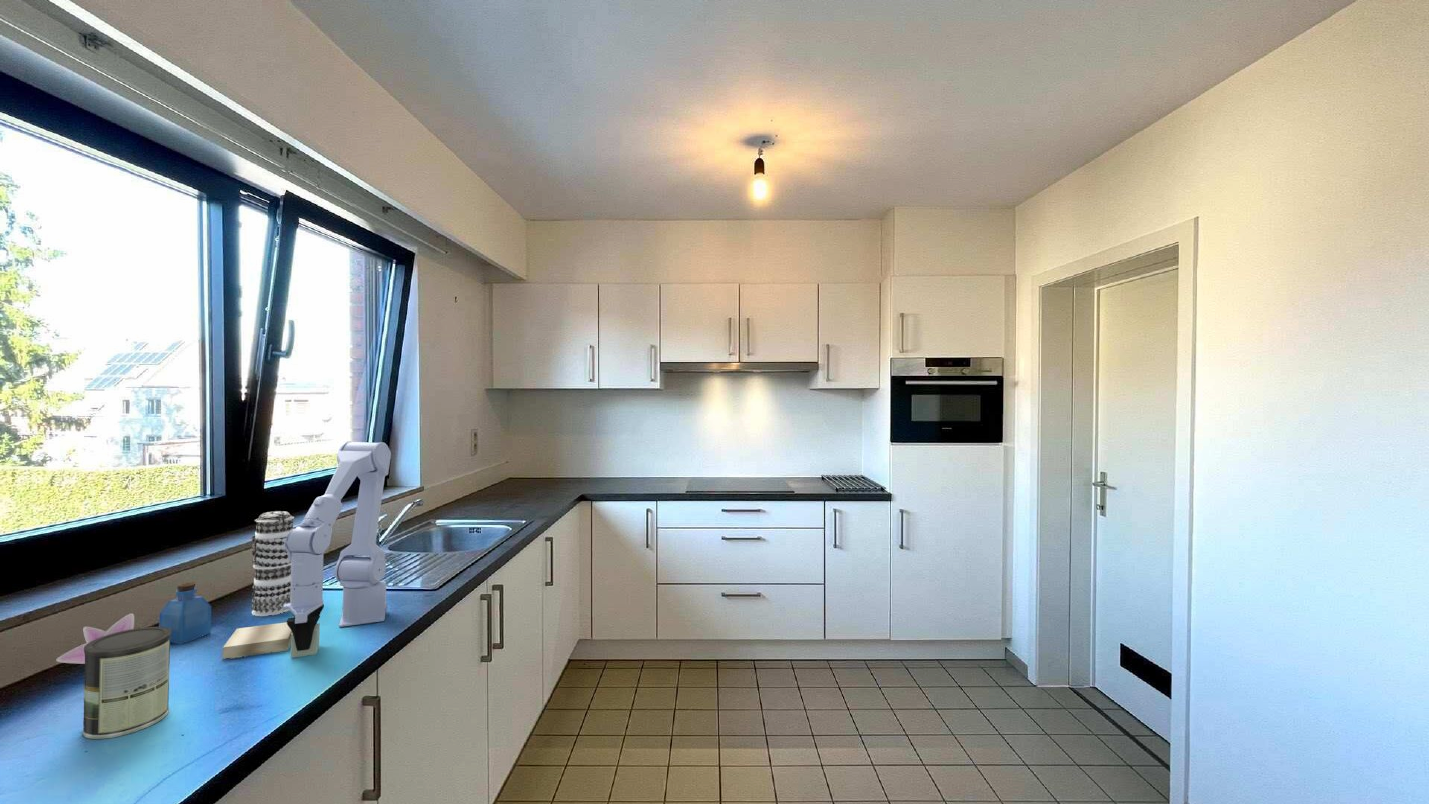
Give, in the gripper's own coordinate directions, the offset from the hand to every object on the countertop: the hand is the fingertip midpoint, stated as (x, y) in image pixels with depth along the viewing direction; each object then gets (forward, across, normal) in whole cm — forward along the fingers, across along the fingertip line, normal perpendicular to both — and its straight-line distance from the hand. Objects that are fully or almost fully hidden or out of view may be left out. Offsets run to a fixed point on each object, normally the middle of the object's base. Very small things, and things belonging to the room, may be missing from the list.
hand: (305, 645), depth 125 cm
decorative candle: (+2, -32, -11) cm, 34 cm away
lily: (+2, -5, -33) cm, 33 cm away
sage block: (+1, 0, 0) cm, 1 cm away
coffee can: (+2, +20, -22) cm, 30 cm away
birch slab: (+2, -8, -9) cm, 12 cm away
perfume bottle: (+2, -20, -25) cm, 32 cm away
